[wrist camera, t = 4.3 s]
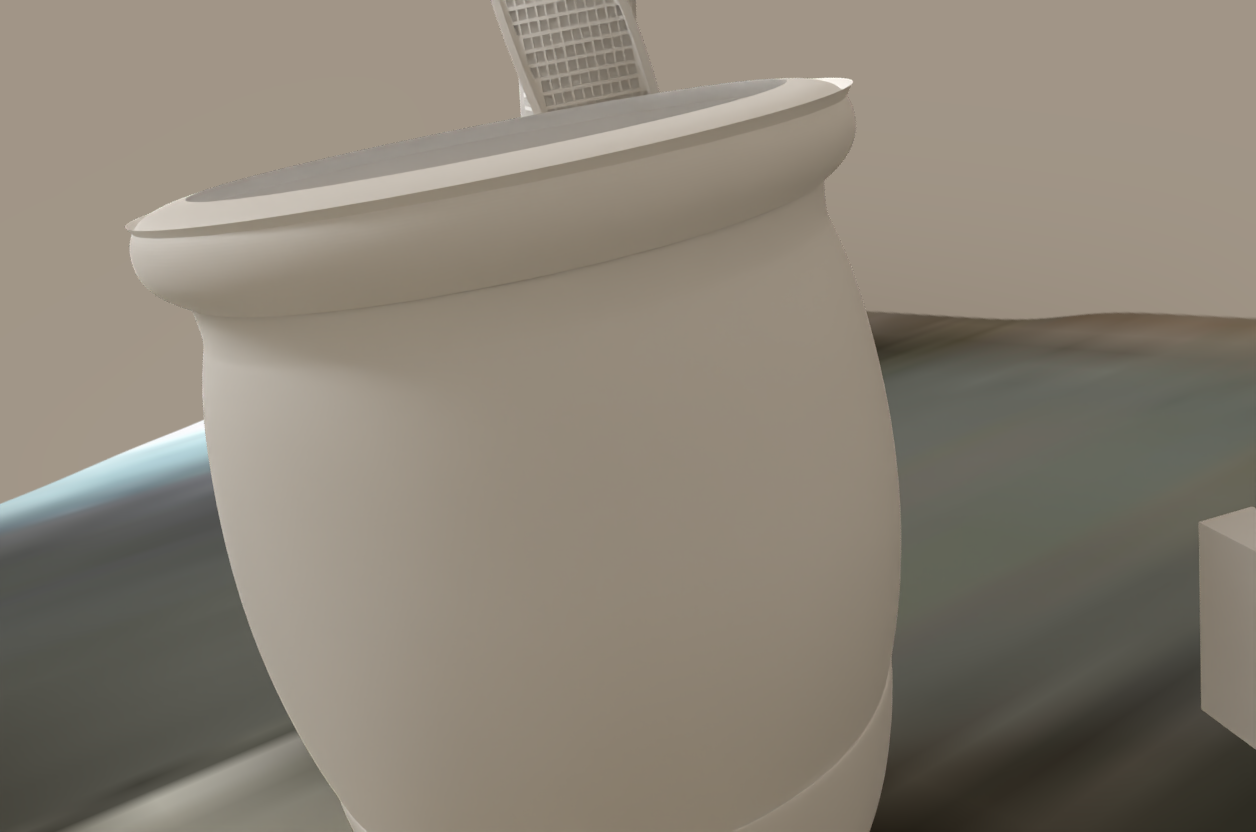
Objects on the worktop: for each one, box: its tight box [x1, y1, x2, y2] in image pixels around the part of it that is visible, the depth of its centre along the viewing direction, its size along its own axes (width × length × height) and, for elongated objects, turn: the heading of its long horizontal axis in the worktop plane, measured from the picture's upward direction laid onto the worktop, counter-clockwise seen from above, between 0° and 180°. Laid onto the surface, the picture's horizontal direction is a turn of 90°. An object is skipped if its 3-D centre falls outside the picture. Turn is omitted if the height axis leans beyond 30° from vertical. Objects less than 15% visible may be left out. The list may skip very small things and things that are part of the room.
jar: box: [125, 78, 901, 832], centre depth 18 cm, size 11×10×15 cm
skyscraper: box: [491, 0, 660, 117], centre depth 48 cm, size 8×8×28 cm
